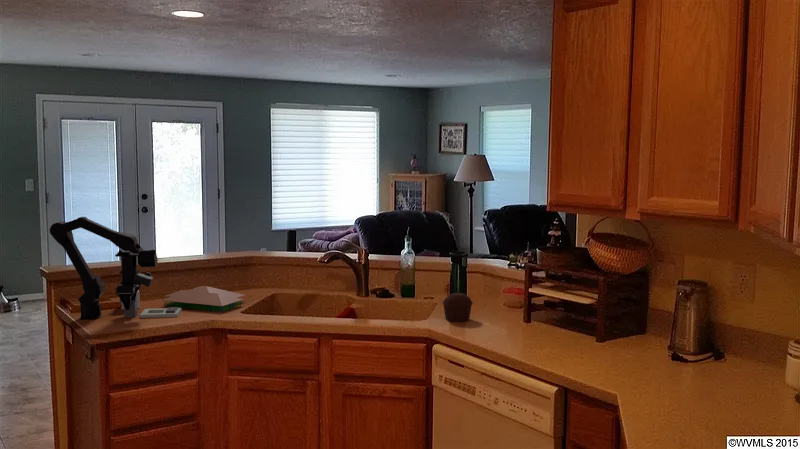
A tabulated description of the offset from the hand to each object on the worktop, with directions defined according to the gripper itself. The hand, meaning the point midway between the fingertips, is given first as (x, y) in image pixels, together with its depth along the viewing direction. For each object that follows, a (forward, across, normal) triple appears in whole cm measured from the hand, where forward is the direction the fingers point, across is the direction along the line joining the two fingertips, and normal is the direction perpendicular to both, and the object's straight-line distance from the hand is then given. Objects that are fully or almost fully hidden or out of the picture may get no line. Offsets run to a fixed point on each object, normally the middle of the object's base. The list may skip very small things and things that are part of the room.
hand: (130, 307), depth 283 cm
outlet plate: (+4, +2, -11) cm, 12 cm away
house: (+4, +20, -26) cm, 33 cm away
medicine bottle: (+4, +17, +4) cm, 18 cm away
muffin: (+4, -23, -125) cm, 127 cm away
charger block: (+4, 0, 0) cm, 4 cm away
